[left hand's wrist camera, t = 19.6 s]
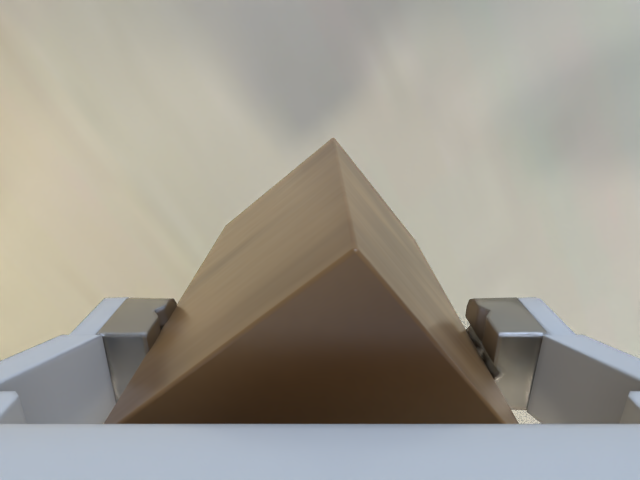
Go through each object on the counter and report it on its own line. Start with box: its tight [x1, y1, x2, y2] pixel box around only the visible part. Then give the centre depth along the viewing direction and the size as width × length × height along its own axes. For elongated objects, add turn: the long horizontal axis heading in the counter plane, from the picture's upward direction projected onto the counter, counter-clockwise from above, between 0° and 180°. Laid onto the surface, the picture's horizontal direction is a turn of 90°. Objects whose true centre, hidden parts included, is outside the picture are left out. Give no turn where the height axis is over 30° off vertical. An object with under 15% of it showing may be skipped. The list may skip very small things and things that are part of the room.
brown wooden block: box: [104, 138, 519, 424], centre depth 11 cm, size 5×5×10 cm
